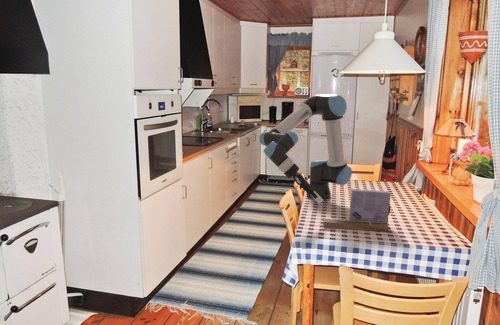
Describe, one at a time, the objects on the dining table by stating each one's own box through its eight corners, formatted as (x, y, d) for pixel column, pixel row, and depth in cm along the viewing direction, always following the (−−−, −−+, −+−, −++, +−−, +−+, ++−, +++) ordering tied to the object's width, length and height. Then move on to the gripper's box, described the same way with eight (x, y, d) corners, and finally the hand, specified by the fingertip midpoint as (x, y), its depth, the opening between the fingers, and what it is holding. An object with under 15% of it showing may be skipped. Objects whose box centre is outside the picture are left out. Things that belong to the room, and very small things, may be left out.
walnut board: (323, 224, 187) (323, 218, 186) (385, 228, 182) (386, 222, 181) (323, 227, 182) (323, 221, 181) (387, 231, 177) (388, 225, 176)
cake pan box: (388, 224, 187) (390, 190, 184) (390, 228, 182) (392, 193, 179) (348, 221, 190) (350, 188, 187) (349, 225, 186) (351, 190, 182)
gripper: (284, 170, 195) (315, 202, 195) (282, 175, 182) (315, 210, 183) (294, 160, 193) (326, 193, 193) (293, 165, 180) (327, 200, 181)
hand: (320, 201), depth 188 cm, fingers closed
